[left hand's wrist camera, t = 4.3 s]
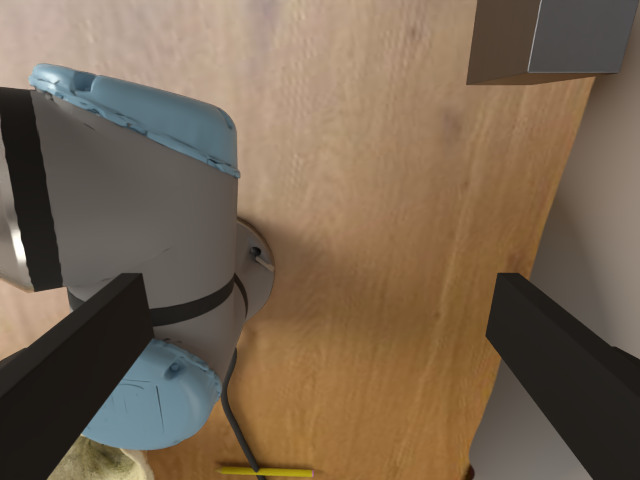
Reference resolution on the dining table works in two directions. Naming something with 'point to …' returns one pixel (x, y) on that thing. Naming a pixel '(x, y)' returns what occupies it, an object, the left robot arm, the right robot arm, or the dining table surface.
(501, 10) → the bar
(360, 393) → the dining table surface
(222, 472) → the pencil
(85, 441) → the bowl
